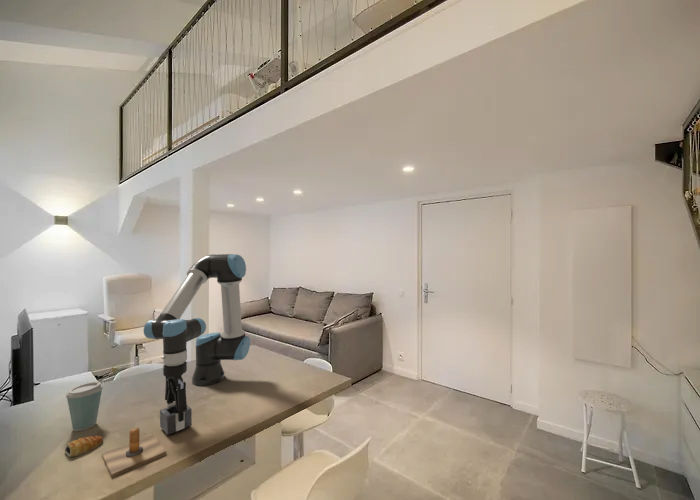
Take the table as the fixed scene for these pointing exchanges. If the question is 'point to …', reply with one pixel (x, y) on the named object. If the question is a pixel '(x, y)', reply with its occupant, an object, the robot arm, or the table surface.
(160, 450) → the keeper
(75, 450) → the pastry
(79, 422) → the disposable coffee cup
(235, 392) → the table surface
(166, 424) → the hollow square block
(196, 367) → the robot arm
